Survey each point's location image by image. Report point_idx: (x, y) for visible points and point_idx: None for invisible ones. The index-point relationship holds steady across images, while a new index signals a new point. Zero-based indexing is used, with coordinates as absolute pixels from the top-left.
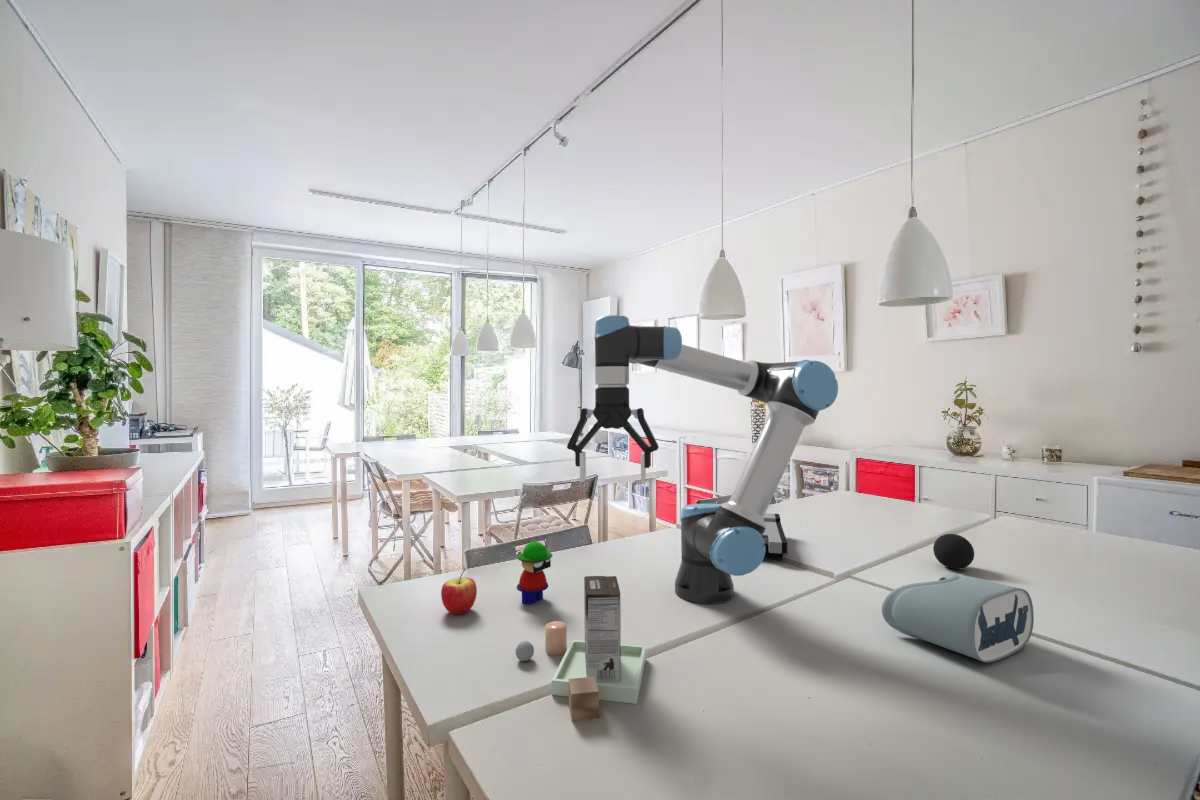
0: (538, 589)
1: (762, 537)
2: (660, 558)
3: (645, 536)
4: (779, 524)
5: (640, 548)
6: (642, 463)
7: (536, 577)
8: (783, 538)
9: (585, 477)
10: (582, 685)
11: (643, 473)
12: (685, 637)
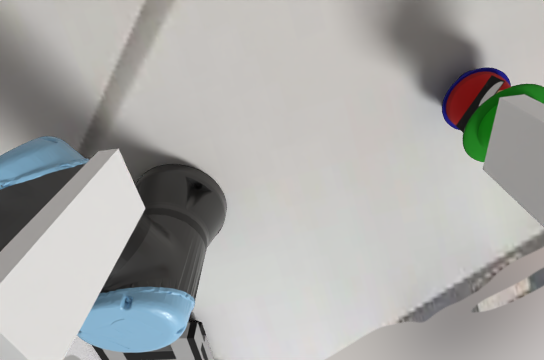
0: (460, 82)
1: (131, 353)
2: (280, 295)
3: (322, 355)
4: None
5: (319, 319)
6: (28, 234)
7: (477, 92)
8: (102, 355)
9: (494, 170)
10: None
11: (68, 184)
12: (150, 30)
